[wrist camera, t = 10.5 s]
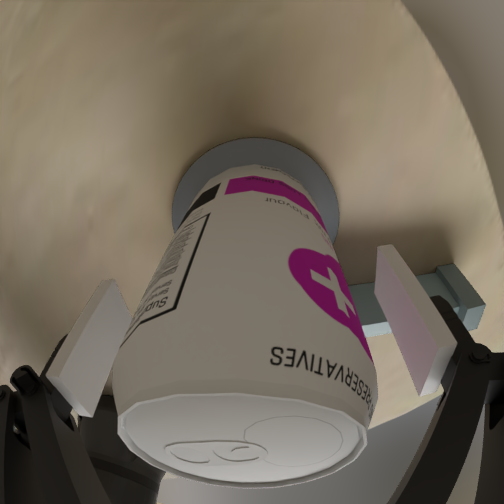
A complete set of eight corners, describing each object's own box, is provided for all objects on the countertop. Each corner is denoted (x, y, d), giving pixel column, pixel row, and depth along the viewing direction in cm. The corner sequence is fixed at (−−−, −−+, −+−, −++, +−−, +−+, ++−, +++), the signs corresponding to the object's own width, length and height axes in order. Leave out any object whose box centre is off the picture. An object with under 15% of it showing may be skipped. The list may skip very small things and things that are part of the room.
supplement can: (296, 144, 18) (386, 325, 5) (328, 258, 21) (386, 470, 8) (171, 186, 19) (39, 383, 6) (220, 288, 23) (186, 493, 10)
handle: (222, 317, 25) (215, 369, 20) (216, 294, 24) (206, 346, 19) (448, 286, 23) (476, 328, 18) (454, 263, 22) (485, 304, 17)
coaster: (195, 293, 24) (194, 298, 24) (156, 154, 19) (153, 156, 18) (338, 277, 23) (340, 282, 22) (331, 128, 17) (333, 129, 17)
